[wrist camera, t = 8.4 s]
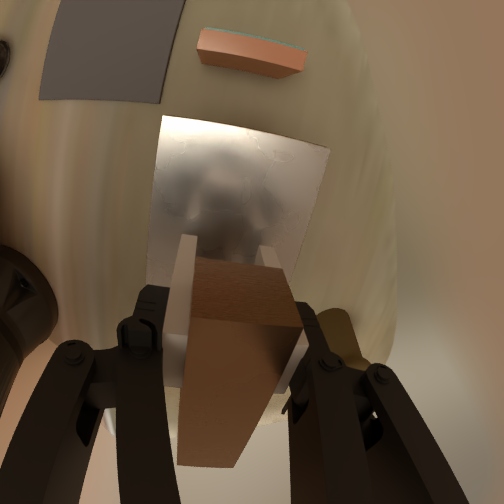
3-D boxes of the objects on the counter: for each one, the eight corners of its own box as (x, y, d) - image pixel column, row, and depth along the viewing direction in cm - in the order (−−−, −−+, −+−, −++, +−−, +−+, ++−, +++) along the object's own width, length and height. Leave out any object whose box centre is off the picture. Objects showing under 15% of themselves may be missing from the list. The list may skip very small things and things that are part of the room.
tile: (201, 63, 22) (196, 48, 15) (205, 47, 21) (202, 25, 14) (277, 78, 24) (302, 71, 17) (282, 62, 23) (308, 49, 16)
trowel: (258, 356, 21) (277, 466, 13) (147, 345, 19) (130, 458, 12) (325, 146, 14) (435, 209, 6) (166, 114, 13) (93, 137, 5)
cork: (328, 301, 37) (361, 366, 27) (357, 317, 39) (390, 376, 29) (298, 332, 39) (321, 399, 29) (328, 345, 41) (353, 406, 31)
